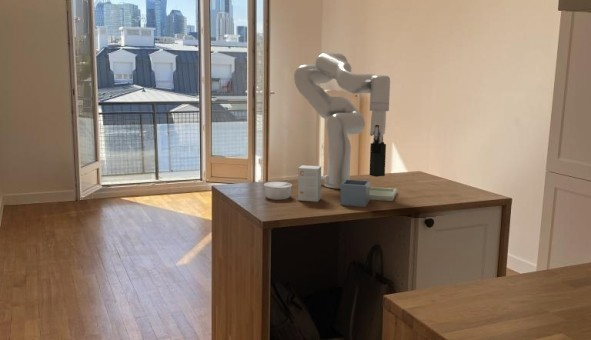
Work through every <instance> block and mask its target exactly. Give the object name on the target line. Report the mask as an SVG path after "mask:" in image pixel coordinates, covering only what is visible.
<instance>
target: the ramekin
mask: <svg viewBox="0 0 591 340" xmlns="http://www.w3.org/2000/svg"><path fill="white" fill-rule="evenodd" d="M263 187H264V195H265V197H266V199H270V200H276V201H277V200H281V201H282V200H287V199H289V198H290V196H291V192H292V188H293V184H292V183H290V182H286V181H270V182H269V181H268V182H265V183H263Z"/></svg>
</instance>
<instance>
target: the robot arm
mask: <svg viewBox="0 0 591 340" xmlns="http://www.w3.org/2000/svg"><path fill="white" fill-rule="evenodd" d="M314 63H315V64H314ZM314 63H313V64H311V63H310V64H301V65H299V66H298V67H297V68H296V69H295V71H294V74H293V75H294V76H293V79H294V80H293V81H294V84H295V88H297V91H298V92H299V93H300V95H301V96H302V97H303V98H304V99H306V101H307V102H308V103H309V105H311V107H312V108H313V110H314V111H315V112H316V113H317V114H318V115H319V116H320V117H321V118H323V119H324V120H326V131H327V138H328V139H327V140H328V148H327V149H328V151H327V152H328V153H327V155H328V156H327V157H328V158H327V161H328V162H327V174H326V175H321V182H323V181H324V183H323V186H324V187H326V188H329V189H335V190H336V189H337V190H338V189H340V190H341V183H342V182H343V181H344V180H345V179H348V180H351V177H350V176H351V155H352V154H351V153H352V152H351V151H352V149H351V148H352V147H351V142H350V140H349V137H348V136H350V135H356V134H357V135H358V134H360V133H362V132H363V131H364V130H365V128H366V126H365V125H366V123H365V122H366V121H365V119H364V116H363V114H362V113H361V112H360V111H359V110H358V109H357V107H356V106H355V105H354V104H353V103H352V102H351V100H349V99H348V98H346V97H344V96H330V95H329V94H328V93H327V92H326V90H325V89H324V88H323V87H321V86H319V85H317V84H326V83H329V82H331V81H332V80H335V81H336V83H337V85H338V86H339V87H340V88H341V89H343V90H345V91H347V92H349V93H351V94H370V95H369V111H371V117H370V131H369V132H370V133H369V135H370V137H373V141H372V143H373V153H376V154H380V153H381V143H380V142H381V136H382V142H384V135H385V133H386V123H387V122H386V121H387V112H390V96H391V95H390V94H391V93H390V92H391V90H390V89H391V78H390V76H389V75H381V74H380V75H377V74H372V73H371V74H368V73H367V74H365V73H360V74H356V73H353V72H352V65H351V64H350V63H348V59H347V57H346V56H345V55H344V54H341V53H335V52H324V53H321V54H319V55H318V56H317V57H316V59H315V62H314Z"/></svg>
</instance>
